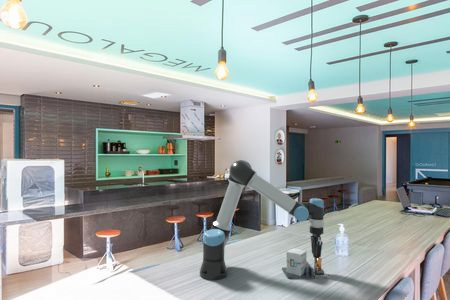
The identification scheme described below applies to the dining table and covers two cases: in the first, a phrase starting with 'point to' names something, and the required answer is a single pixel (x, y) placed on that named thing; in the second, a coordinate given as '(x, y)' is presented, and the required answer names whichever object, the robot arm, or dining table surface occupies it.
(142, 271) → the dining table surface
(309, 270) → the bed
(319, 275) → the rails
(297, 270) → the ink box
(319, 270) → the lever
